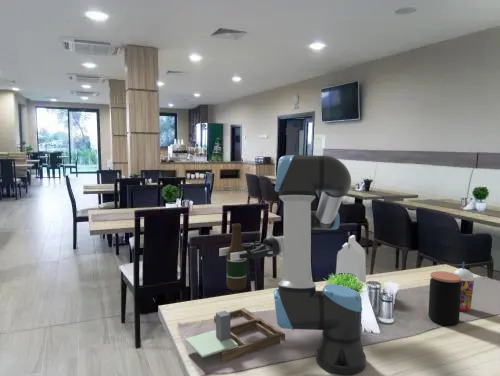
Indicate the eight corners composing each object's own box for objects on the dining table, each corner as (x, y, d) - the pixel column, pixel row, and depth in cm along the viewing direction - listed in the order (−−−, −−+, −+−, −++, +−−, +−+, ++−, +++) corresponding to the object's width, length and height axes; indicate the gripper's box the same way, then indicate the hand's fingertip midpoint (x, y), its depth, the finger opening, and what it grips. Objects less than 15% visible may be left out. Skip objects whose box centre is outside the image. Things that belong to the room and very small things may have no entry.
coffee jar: (462, 320, 148) (464, 275, 146) (454, 329, 140) (457, 282, 138) (433, 312, 155) (435, 269, 153) (424, 321, 147) (426, 275, 146)
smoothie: (468, 315, 153) (470, 266, 151) (446, 308, 159) (448, 261, 157) (475, 309, 158) (478, 262, 156) (454, 303, 164) (456, 258, 163)
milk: (359, 297, 171) (361, 240, 169) (334, 292, 177) (336, 237, 175) (365, 288, 182) (367, 235, 179) (342, 284, 187) (343, 232, 185)
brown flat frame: (286, 340, 132) (286, 332, 132) (222, 362, 118) (222, 353, 117) (243, 312, 154) (243, 305, 154) (185, 328, 140) (185, 320, 140)
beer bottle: (244, 291, 139) (244, 226, 137) (223, 289, 141) (223, 225, 138) (248, 284, 147) (248, 222, 145) (229, 282, 148) (229, 221, 146)
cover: (237, 345, 122) (237, 319, 121) (202, 357, 115) (202, 329, 114) (218, 330, 132) (218, 306, 131) (185, 340, 125) (184, 314, 124)
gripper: (290, 261, 144) (240, 271, 132) (259, 250, 161) (212, 258, 148) (291, 242, 144) (240, 250, 131) (260, 233, 161) (212, 239, 148)
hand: (225, 254), depth 140 cm, fingers closed on beer bottle, 7 cm apart
